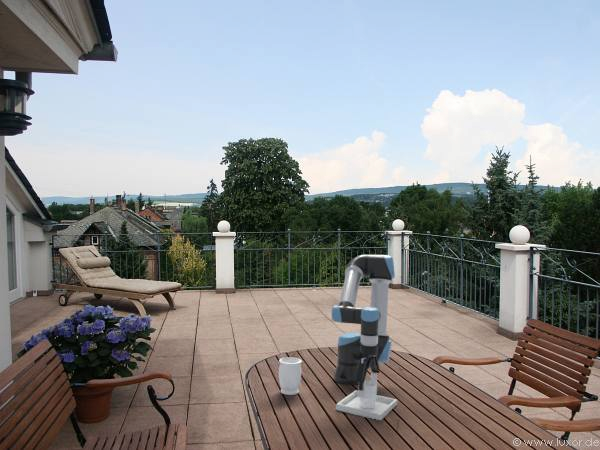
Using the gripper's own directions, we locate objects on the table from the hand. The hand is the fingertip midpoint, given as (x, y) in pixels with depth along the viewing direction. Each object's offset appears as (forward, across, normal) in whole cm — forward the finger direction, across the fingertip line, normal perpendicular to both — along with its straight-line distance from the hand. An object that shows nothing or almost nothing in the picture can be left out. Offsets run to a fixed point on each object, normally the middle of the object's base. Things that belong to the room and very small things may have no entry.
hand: (367, 392), depth 206 cm
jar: (+7, +5, -37) cm, 38 cm away
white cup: (+6, 0, 0) cm, 6 cm away
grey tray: (+6, +1, 0) cm, 7 cm away
